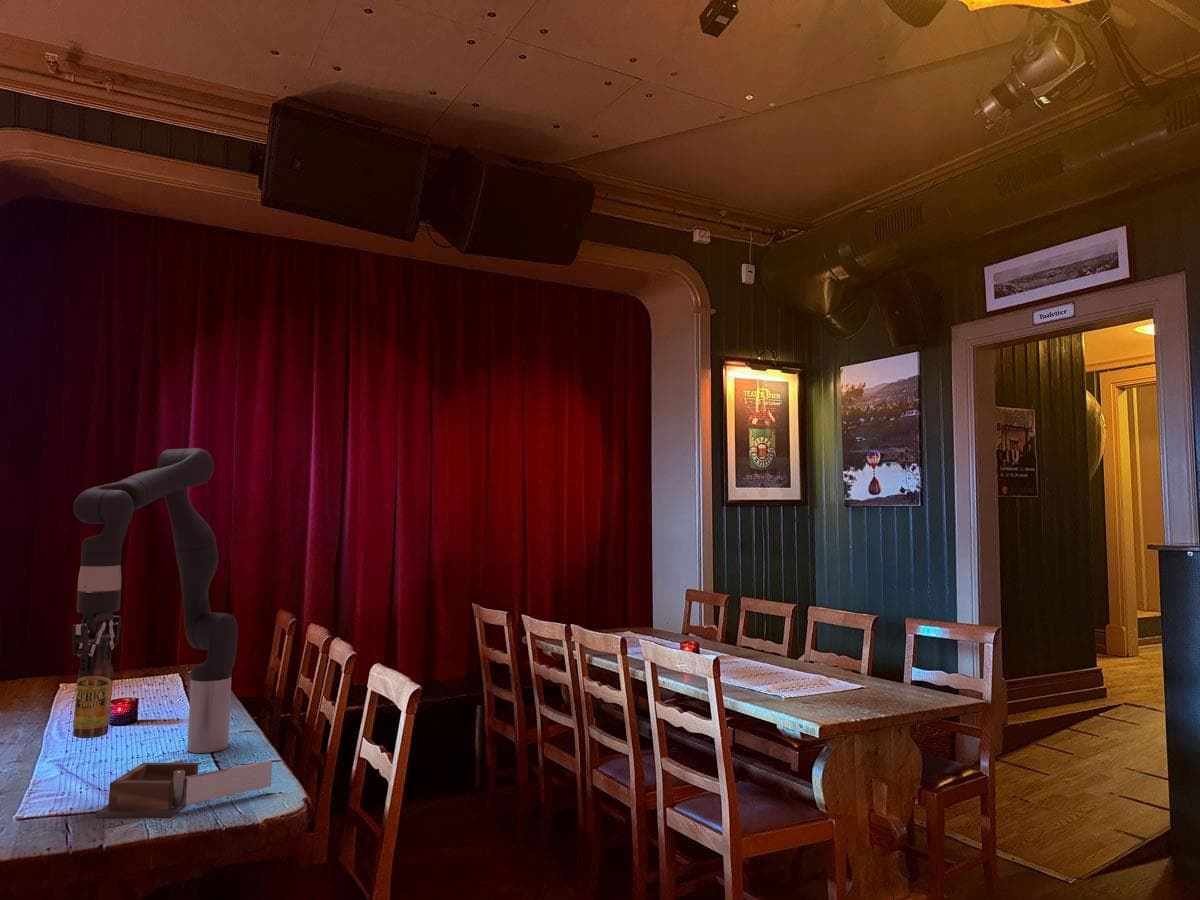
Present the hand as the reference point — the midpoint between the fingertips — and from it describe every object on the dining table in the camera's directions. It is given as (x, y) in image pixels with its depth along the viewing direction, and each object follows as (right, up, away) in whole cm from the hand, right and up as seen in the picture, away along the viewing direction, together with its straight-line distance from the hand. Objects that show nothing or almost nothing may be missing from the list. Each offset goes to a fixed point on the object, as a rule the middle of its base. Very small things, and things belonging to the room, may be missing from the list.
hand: (95, 671), depth 165 cm
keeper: (+25, -26, +1) cm, 36 cm away
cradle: (+12, -27, +1) cm, 30 cm away
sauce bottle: (0, -13, -1) cm, 13 cm away
